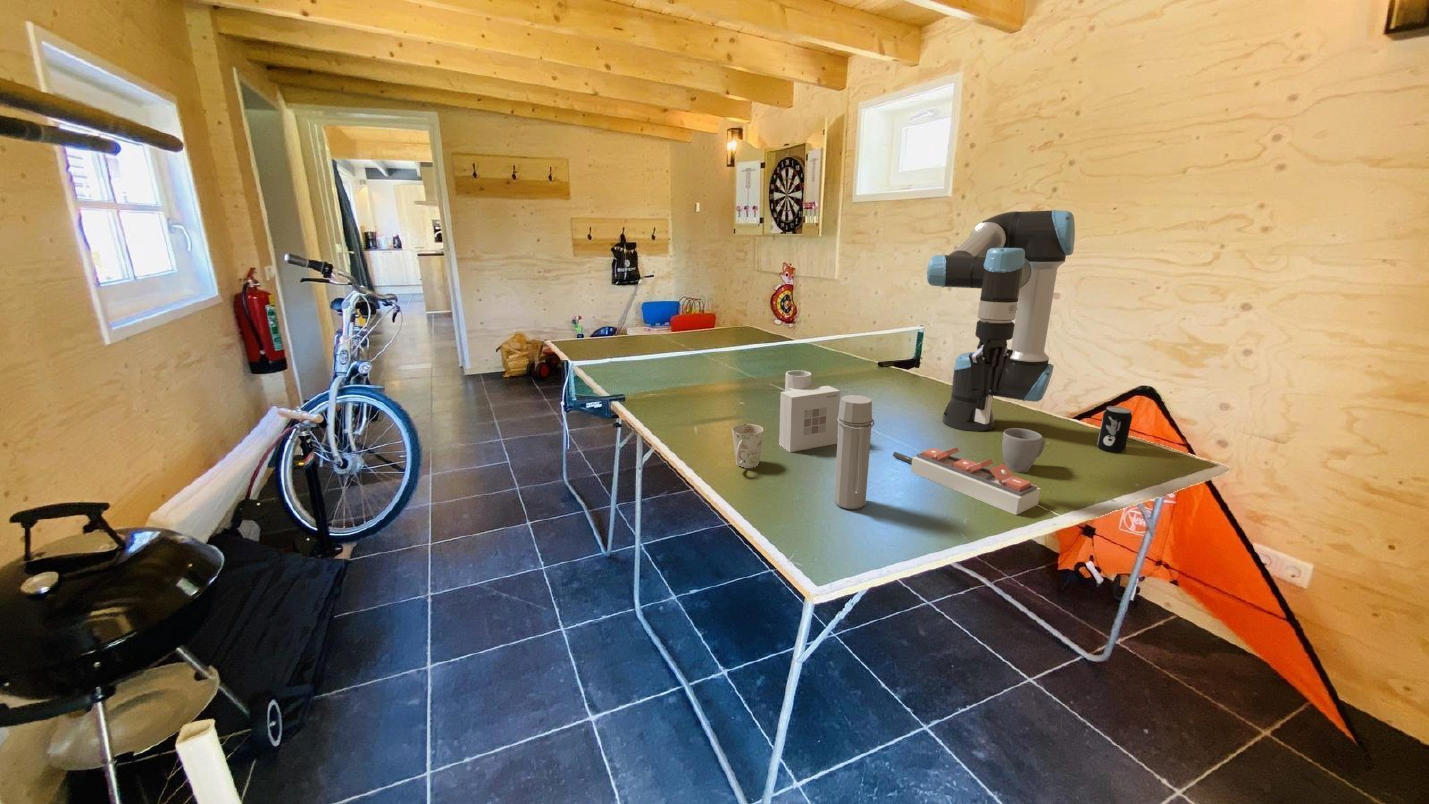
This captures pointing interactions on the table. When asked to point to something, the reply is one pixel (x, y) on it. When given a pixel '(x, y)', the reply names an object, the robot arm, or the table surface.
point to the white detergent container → (807, 413)
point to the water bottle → (853, 451)
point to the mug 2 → (1021, 448)
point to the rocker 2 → (1009, 478)
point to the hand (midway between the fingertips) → (981, 422)
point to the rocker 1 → (939, 453)
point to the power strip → (973, 483)
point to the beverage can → (1114, 429)
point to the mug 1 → (747, 444)
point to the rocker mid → (971, 465)
